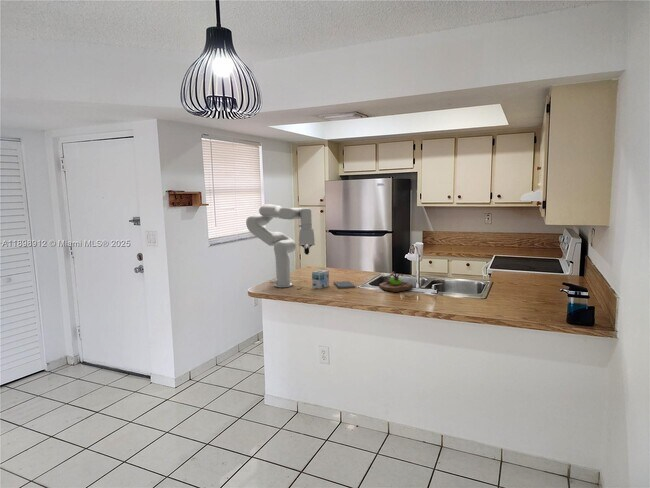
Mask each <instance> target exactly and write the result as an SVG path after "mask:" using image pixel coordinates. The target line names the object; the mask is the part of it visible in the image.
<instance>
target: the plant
mask: <svg viewBox="0 0 650 488" xmlns="http://www.w3.org/2000/svg"><path fill="white" fill-rule="evenodd" d="M400 275H401V277H404V274H403V273H398V274H397V273H396V271H392V272H391V273H390V274H389V276H390V277H392V276H393V278H390V277H389V279H388V281H387V280H386V281H383V282H381V283H379V285H378V288H379V289H381V290H384V291H387V292H394V293H396V292H404V291H409V289H410V290H412V289H413V284H412V283H409V282H406V281H403V280H404V279H401V278H400Z"/></svg>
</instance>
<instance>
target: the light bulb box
mask: <svg viewBox="0 0 650 488" xmlns="http://www.w3.org/2000/svg"><path fill="white" fill-rule="evenodd" d="M311 278H312V281H311V282H312V283H311V285H312V288H313V289H314V288H315V289H319V290H320V289H323V288H327V287H330V272H329V270H325V269H319V270H315V271H312V272H311Z"/></svg>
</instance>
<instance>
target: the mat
mask: <svg viewBox="0 0 650 488" xmlns="http://www.w3.org/2000/svg"><path fill="white" fill-rule="evenodd" d="M333 285H334V286H336V287H337V288H338V289H339V290H342V289H355V288H356V286H355V285H354V284H353V283H352V282H351V281H349V280H347V281H335V280H334V281H333Z"/></svg>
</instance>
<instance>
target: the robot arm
mask: <svg viewBox="0 0 650 488" xmlns="http://www.w3.org/2000/svg"><path fill="white" fill-rule="evenodd" d="M258 213H259V214H258ZM258 213H257V214H251V215H249V216H247V217H246V220H245V222H246V227H247V230H248V232H250V234H252V235H254V237H257V239H260V241H262V242H263V243H265V244H266V245H267V246H270V247H273V251H274V256H275V275H276V276H275V277H276V278H275V279H274V280H269V284H274V287H276V288H289V287H292V286H293V283H292V282H291V269H290V268H291V267H290V266H291V264H290V263H291V261H290V257H289V254H291V253H293V252H294V251H296V249H297V244H296V242H295V240H294V239H293V238H291V237H290V236H288V235H286V234H285V233H283V232H281V231H271V230H268V229H267V228H266V227H264V226H266V225H267V224H269V223H270V221H272V220H273V219H274V218H275V219H276V218H277V219H282V220H289V221H291V220H299V225H297V227H298V228H299V230H298V246H299V247H302V248H303V252H304V254H305V255H307V256H309V254H310V248H311V247H312V246H315V245H316V244H315V232H314V228H313V227H312V223H313V222H312V221H313V220H312V209H311V208H310V207H283V206H282V205H276V204H273V203H272V204H271V203H269V204H266V203H265V204H262V205H260V206H259V208H258Z"/></svg>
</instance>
